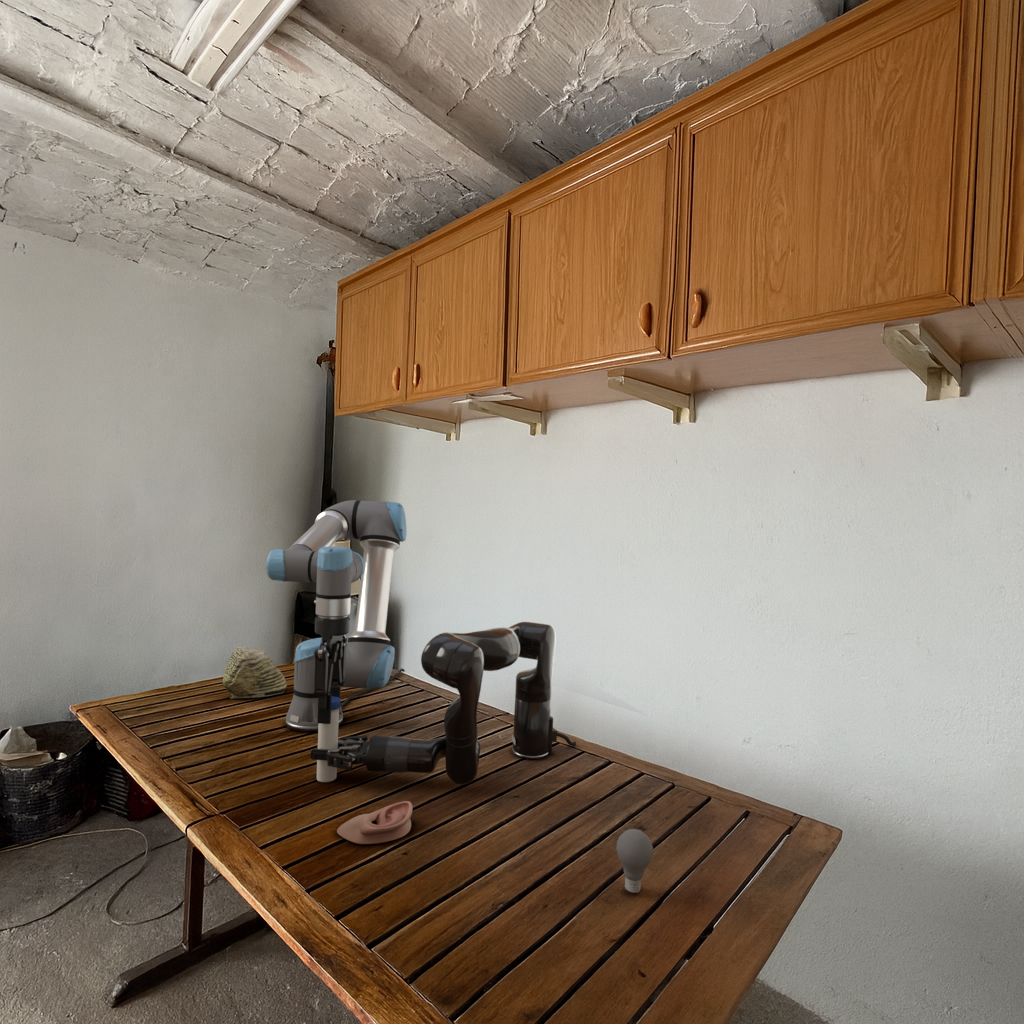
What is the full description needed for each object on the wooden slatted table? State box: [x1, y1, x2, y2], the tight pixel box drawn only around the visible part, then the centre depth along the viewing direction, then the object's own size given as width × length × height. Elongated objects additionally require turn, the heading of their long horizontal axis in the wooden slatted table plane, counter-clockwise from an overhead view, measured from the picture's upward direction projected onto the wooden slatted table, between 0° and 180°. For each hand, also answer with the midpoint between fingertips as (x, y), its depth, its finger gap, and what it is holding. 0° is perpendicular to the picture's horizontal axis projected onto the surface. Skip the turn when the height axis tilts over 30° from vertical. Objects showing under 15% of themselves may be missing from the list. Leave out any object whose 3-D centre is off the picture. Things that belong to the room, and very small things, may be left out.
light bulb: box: [615, 828, 654, 894], centre depth 106 cm, size 6×6×10 cm
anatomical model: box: [336, 800, 414, 845], centre depth 121 cm, size 13×4×12 cm
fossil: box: [222, 646, 288, 699], centre depth 198 cm, size 9×18×15 cm, turn 132°
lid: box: [331, 696, 342, 710], centre depth 142 cm, size 5×5×2 cm
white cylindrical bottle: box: [316, 708, 340, 783], centre depth 143 cm, size 4×4×17 cm
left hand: (328, 718), depth 142 cm, fingers closed on lid, 5 cm apart
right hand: (315, 749), depth 143 cm, fingers closed on white cylindrical bottle, 4 cm apart
